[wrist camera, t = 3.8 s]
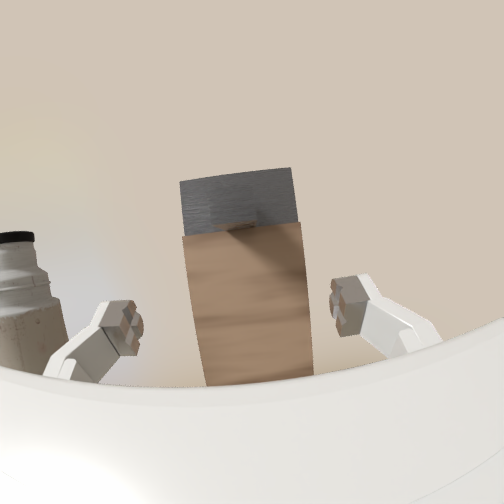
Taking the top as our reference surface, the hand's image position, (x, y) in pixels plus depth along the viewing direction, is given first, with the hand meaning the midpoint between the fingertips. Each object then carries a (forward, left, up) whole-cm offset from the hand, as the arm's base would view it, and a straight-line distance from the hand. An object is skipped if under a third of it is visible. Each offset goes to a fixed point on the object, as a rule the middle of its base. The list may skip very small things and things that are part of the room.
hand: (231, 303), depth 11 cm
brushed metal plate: (+9, +5, +3) cm, 11 cm away
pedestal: (+13, +7, -23) cm, 27 cm away
